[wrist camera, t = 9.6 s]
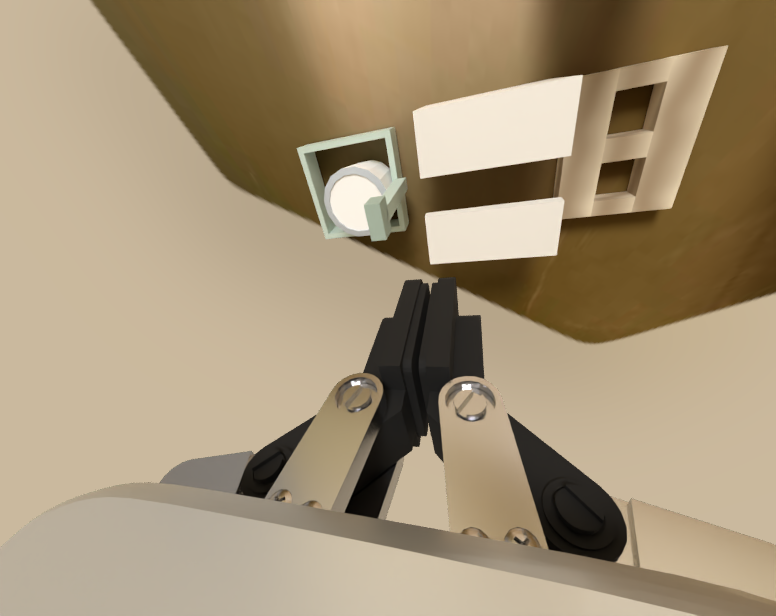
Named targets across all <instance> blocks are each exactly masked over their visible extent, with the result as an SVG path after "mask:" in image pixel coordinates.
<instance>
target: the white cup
mask: <svg viewBox="0 0 776 616" xmlns="http://www.w3.org/2000/svg"><path fill="white" fill-rule="evenodd" d="M391 183H392V177H391V171H390V168H389V167H387V166H386V165H385V164H384V163H382V162H379V161H375V160H369V161H363V162H360V163H357V164H354V165H351V166H348V167H345V168H342V169H340V170H339V171H337V172H336V173H335V174H333V175H332V176H331V177H330V179H329V181H328V183H327V185H326V187H325V193H324V203H325V207H326V210H327V213H328V215H329V217H330V218H331V220H332V221H333V222H334V224H335V225H336V226H337V227H339V228H340V229H341V230H343V231H344V232H346V233H348V234H351V235H355V236H368V235H370V231H369V227H368V222H367V218H366V214H365V209H364V204H365V203H366V202H367V201H368V200H369V199H370V197H377V196H382V195H383V194H384V192H385V191H386V190H387V188H388V187H389V186H390V185H391Z"/></svg>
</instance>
